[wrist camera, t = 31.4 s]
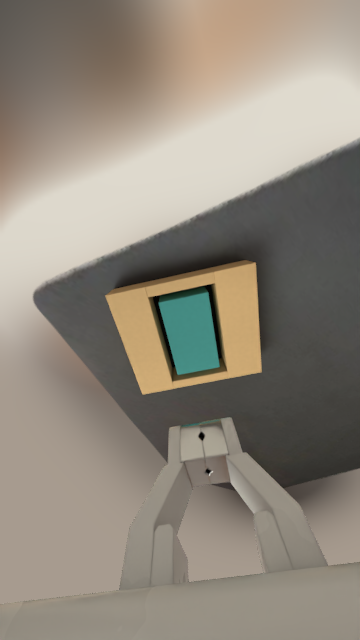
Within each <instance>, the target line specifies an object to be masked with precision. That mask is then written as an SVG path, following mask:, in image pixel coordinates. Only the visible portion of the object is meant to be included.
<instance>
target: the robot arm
mask: <svg viewBox="0 0 360 640" xmlns="http://www.w3.org/2000/svg"><path fill="white" fill-rule="evenodd" d="M225 482H231V484H232V485H233V486H234V488H235V489H236V490H237V492H238V493H239V494H240V496H241V497H242V498H243V500H244V501H245V503H246V504H247V505H248V507H249V508H250V509H251V511H252V512H253V513H254V526H255V534H256V542H257V550H258V554H259V558H260V562H261V565H262V569H263V573H262V574H254V575H246V576H237V577H228V578H220V579H212V580H203V581H194V582H189V581H188V560H187V557H186V554H185V552H184V550H183V548H182V546H181V544H180V542H179V539H178V537H177V533H178V530H179V527H180V524H181V521H182V518H183V516H184V513H185V510H186V507H187V504H188V501H189V498H190V495H191V493H192V490H193V488H192V487H198V486H203V485H209V484H216V483H225ZM0 640H360V562H357V563H348V564H340V565H331V566H328V564H327V562H326V560H325V558H324V555H323V553H322V551H321V549H320V547H319V545H318V543H317V541H316V538H315V536H314V534H313V532H312V530H311V528H310V526H309V523H308V521H307V519H306V517H305V515H304V513H303V511H302V509H301V507H300V505H299V504H298V503H297V502H296V501H295V500H294V499H293V498H292V497H291V496H290V495H289V494H288V493H287V492H286V491H285V490H284V489H283V488H282V487H281V486H280V485H279V484H278V483H277V482H276V481H275V480H274V479H273V478H272V477H271V476H270V475H269V474H268V473H267V472H266V471H265V470H264V469H263V468H262V467H261V466H260V465H259V464H257V463H256V462H255V461H254V460H253V459H252V458H251V457H250V456H249V455H248V454H247V453H246V452H245V453H243V452H242V449H241V446H240V443H239V439H238V436H237V433H236V430H235V427H234V424H233V421H232V418H231V417H228V418H223V419H216V420H211V421H205V422H200V423H196V424H189V425H182V426H176V427H170V429H169V444H168V465H165V466H164V467H163V469H162V471H161V473H160V474H159V476H158V478H157V480H156V481H155V484H154V485H153V487H152V489H151V490H150V492H149V494H148V496H147V497H146V499H145V501H144V503H143V505H142V507H141V508H140V510H139V512H138V514H137V516H136V517H135V519H134V521H133V522H132V524H131V526H130V528H129V534H128V540H127V546H126V552H125V558H124V564H123V570H122V577H121V582H120V588H119V590H117V591H109V592H101V593H92V594H83V595H74V596H66V597H57V598H49V599H40V600H32V601H23V602H15V603H7V604H0Z"/></svg>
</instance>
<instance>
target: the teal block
mask: <svg viewBox="0 0 360 640" xmlns="http://www.w3.org/2000/svg"><path fill="white" fill-rule="evenodd" d="M159 307H160V310H161V314H162V318H163V322H164V325H165V329H166V333H167V337H168V341H169V344H170V348H171V352H172V356H173V359H174V363H175V367H176V371H177V374H178V375H181V374H186V373H192V372H197V371H202V370H207V369H213V368H218V367H220V365H219V358H218V352H217V345H216V339H215V332H214V326H213V319H212V313H211V306H210V300H209V293H208V291H207V290H206V288H205V287H204V286H202V287H197V288H193V289H188V290H183V291H179V292H174V293H169V294H165V295H160V299H159Z"/></svg>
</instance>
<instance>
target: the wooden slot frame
mask: <svg viewBox="0 0 360 640" xmlns="http://www.w3.org/2000/svg"><path fill="white" fill-rule="evenodd" d="M208 284H211V286H212V293H213V300H214V307H215V313H216V320H217V327H218V334H219V340H220V347H221V354H222V358H220V359H219V365H220V367H218V368H213V369H207V370H202V371H197V372H192V373H186V374H181V375H178V374H177V371H176V367H174V368H172V365H171V361H170V358H169V354H168V350H167V347H166V343H165V340H164V336H163V332H162V329H161V325H160V322H159V318H158V314H157V311H156V307H155V304H154V300H153V296H158V295H162V294H167V293H171V292H176V291H181V290H185V289H190V288H195V287H199V286H204V285H208ZM106 299H107V302H108V304H109V307H110V310H111V312H112V315H113V317H114V320H115V323H116V325H117V328H118V331H119V333H120V336H121V339H122V341H123V344H124V347H125V349H126V352H127V354H128V357H129V360H130V362H131V365H132V368H133V370H134V373H135V376H136V378H137V381H138V384H139V386H140V389H141V391H142V394H148V393H154V392H159V391H164V390H169V389H174V388H179V387H185V386H190V385H195V384H200V383H206V382H211V381H216V380H221V379H227V378H233V377H238V376H243V375H248V374H254V373H259V372H262V370H261V351H260V332H259V313H258V294H257V275H256V263H255V262H251V261H247V260H243V261H238V262H234V263H229V264H225V265H220V266H216V267H211V268H207V269H202V270H198V271H193V272H189V273H184V274H180V275H175V276H171V277H166V278H162V279H157V280H153V281H149V282H143V283H139V284H134V285H130V286H125V287H121V288H116V289H113V290H112V291H111V292H109V293H108V294H107V295H106Z"/></svg>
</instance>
